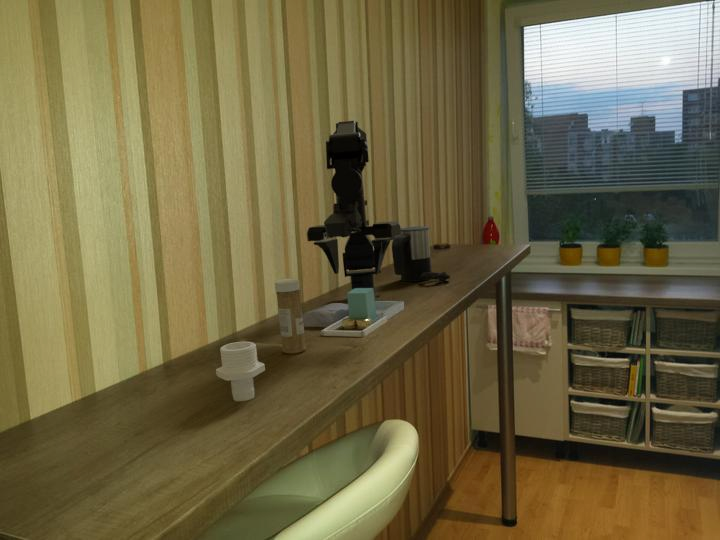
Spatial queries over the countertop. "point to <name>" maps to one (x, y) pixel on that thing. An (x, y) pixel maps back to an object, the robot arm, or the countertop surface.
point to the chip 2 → (363, 323)
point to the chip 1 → (349, 323)
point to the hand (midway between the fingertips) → (356, 273)
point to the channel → (388, 308)
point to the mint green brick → (362, 303)
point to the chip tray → (332, 332)
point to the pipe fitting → (240, 368)
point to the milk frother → (414, 255)
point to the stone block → (325, 315)
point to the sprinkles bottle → (290, 315)
